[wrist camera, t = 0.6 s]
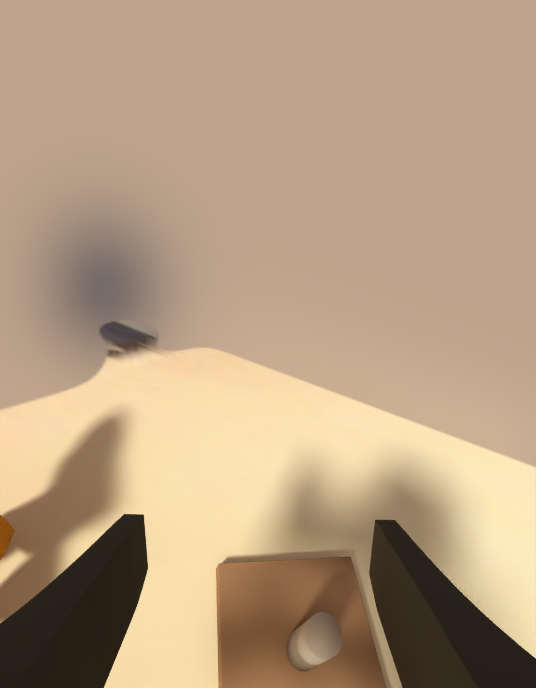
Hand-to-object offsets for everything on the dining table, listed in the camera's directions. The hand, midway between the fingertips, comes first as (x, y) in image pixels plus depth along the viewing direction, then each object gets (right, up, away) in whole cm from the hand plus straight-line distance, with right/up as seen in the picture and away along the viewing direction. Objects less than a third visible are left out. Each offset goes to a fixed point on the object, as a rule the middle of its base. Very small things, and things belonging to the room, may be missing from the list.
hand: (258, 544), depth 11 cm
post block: (+2, -13, +12) cm, 18 cm away
